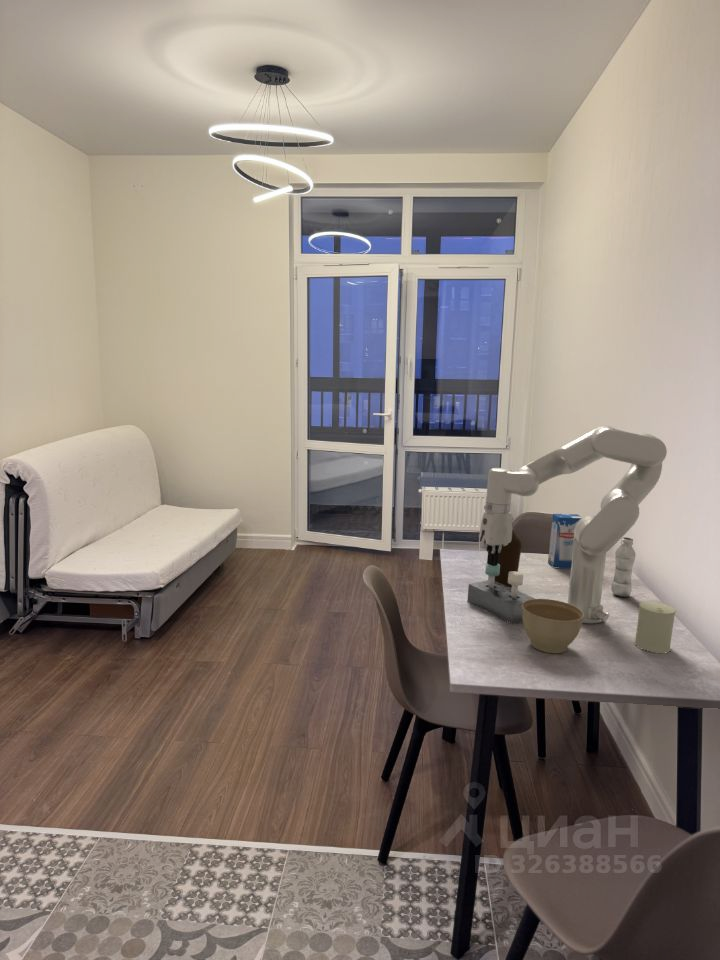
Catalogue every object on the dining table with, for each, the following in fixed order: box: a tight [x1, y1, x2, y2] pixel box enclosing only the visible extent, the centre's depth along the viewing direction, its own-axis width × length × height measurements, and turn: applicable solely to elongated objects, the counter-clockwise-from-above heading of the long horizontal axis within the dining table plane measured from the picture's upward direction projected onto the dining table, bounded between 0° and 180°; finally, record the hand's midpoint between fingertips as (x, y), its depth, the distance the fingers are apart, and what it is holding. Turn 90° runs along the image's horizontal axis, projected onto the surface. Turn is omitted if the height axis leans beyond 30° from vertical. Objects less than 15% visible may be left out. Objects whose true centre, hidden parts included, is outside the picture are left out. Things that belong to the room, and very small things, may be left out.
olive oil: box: [487, 517, 522, 588], centre depth 220 cm, size 11×11×25 cm
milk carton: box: [547, 513, 584, 569], centre depth 249 cm, size 10×6×20 cm, turn 94°
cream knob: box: [508, 571, 524, 599], centre depth 196 cm, size 4×4×9 cm
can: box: [634, 600, 677, 654], centre depth 178 cm, size 9×9×12 cm
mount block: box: [466, 579, 536, 625], centre depth 201 cm, size 20×10×6 cm, turn 32°
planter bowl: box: [522, 598, 584, 654], centre depth 175 cm, size 16×16×11 cm
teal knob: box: [484, 562, 500, 589], centre depth 204 cm, size 4×4×9 cm
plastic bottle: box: [610, 536, 637, 598], centre depth 218 cm, size 6×7×20 cm
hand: (492, 564), depth 203 cm, fingers closed
